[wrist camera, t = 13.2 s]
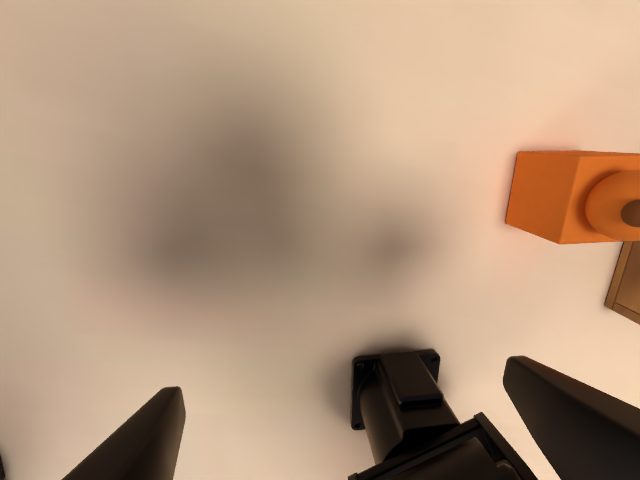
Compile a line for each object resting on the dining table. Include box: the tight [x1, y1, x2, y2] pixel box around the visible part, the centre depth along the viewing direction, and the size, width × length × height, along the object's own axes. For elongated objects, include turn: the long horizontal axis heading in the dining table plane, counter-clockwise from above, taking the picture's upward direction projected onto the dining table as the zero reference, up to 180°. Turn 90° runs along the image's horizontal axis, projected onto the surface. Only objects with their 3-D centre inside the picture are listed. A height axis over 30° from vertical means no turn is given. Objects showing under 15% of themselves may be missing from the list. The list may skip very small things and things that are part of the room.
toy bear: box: [506, 151, 640, 244], centre depth 17 cm, size 5×4×8 cm
